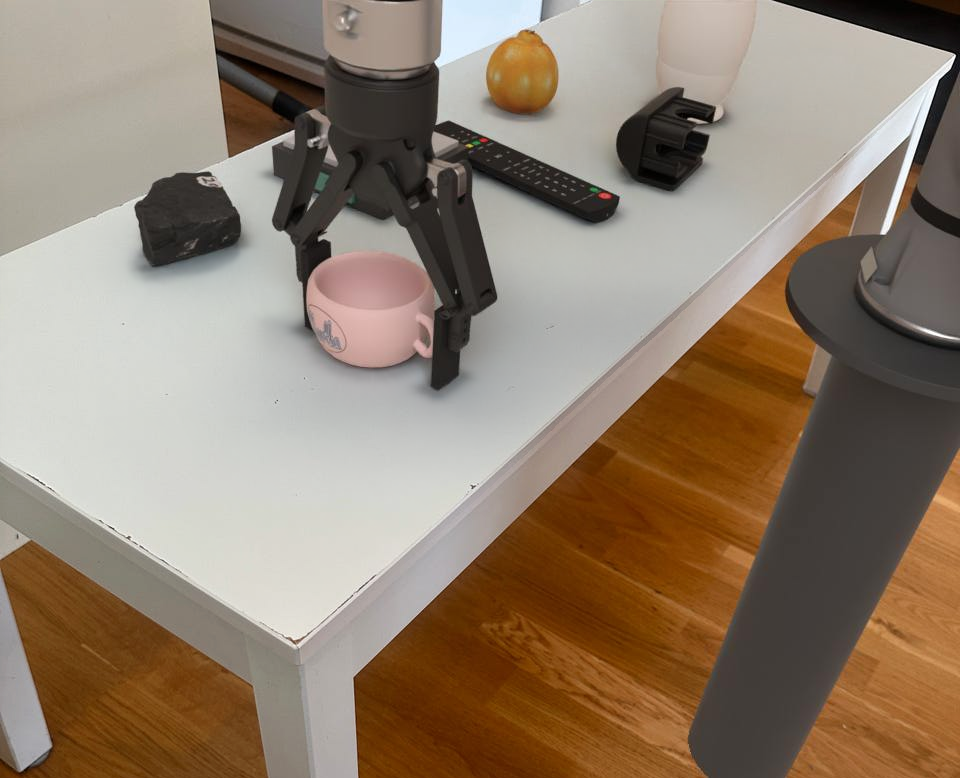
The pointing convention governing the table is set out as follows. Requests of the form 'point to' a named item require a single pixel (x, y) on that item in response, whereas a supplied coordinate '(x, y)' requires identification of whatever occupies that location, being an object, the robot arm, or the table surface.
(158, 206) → the rock
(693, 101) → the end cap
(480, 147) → the remote control
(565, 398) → the table surface
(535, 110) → the fruit
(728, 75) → the jar
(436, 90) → the robot arm
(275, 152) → the scale
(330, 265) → the mug
